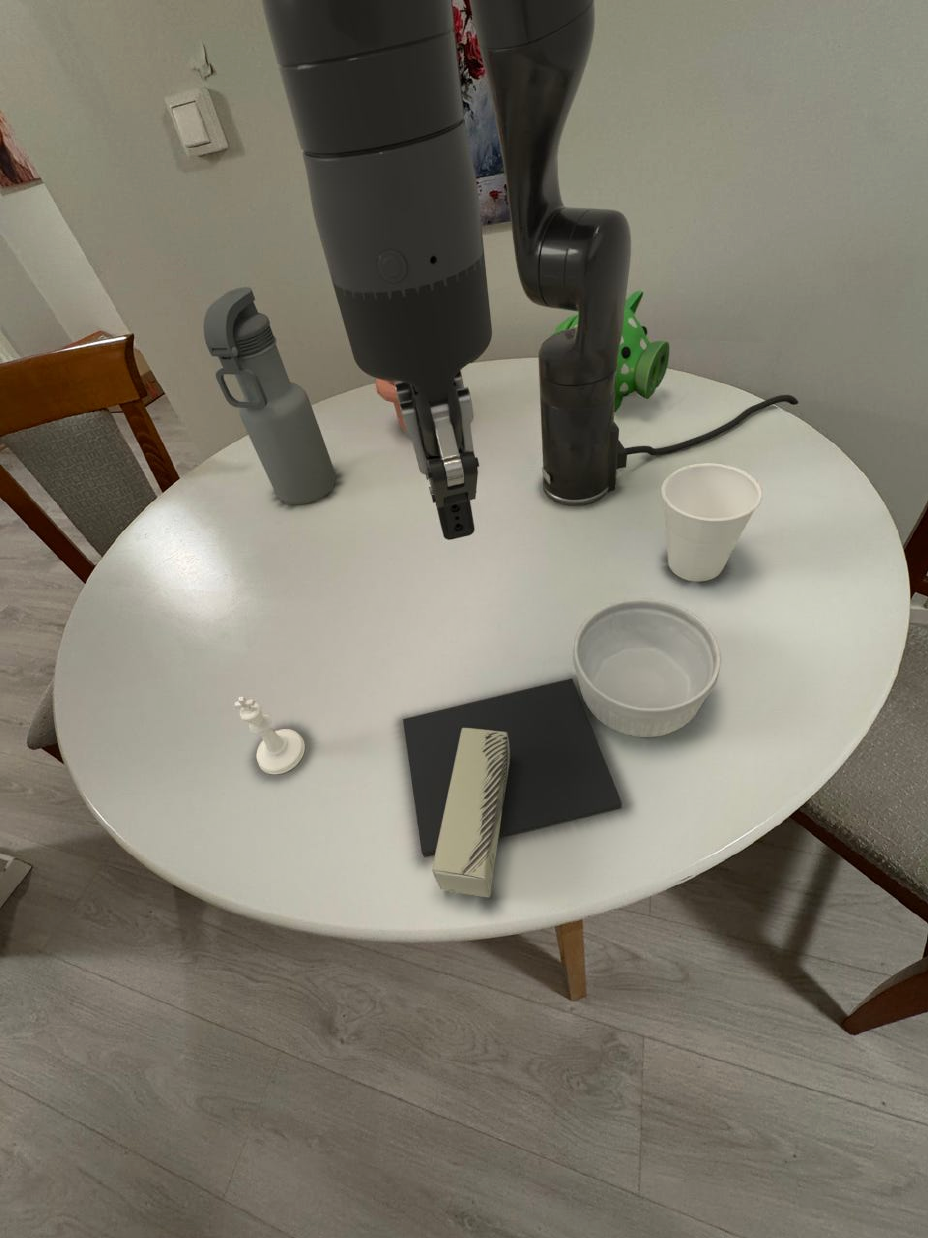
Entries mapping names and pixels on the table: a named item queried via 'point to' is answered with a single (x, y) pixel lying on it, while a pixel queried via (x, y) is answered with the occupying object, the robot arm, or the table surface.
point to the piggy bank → (634, 355)
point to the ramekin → (645, 665)
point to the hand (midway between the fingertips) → (458, 530)
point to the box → (473, 813)
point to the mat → (515, 759)
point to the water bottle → (268, 399)
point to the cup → (706, 516)
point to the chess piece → (271, 740)
